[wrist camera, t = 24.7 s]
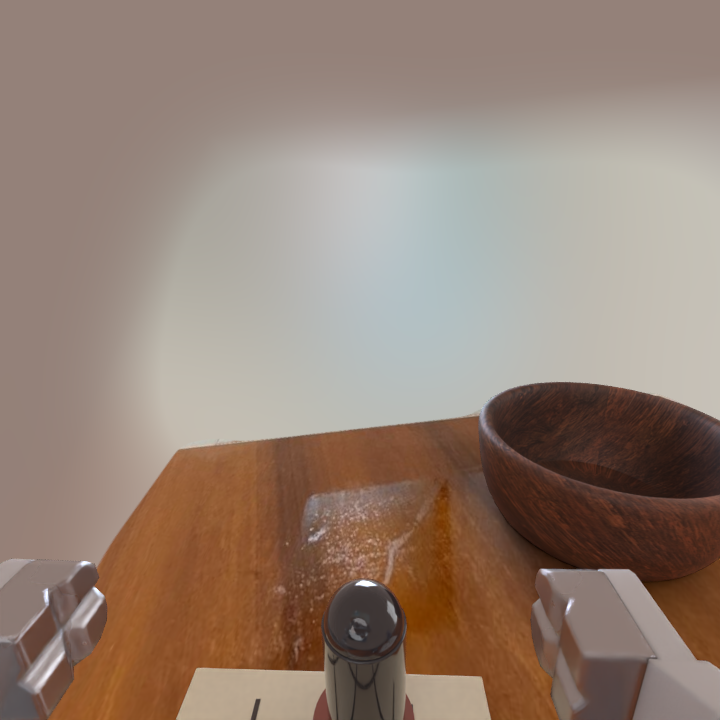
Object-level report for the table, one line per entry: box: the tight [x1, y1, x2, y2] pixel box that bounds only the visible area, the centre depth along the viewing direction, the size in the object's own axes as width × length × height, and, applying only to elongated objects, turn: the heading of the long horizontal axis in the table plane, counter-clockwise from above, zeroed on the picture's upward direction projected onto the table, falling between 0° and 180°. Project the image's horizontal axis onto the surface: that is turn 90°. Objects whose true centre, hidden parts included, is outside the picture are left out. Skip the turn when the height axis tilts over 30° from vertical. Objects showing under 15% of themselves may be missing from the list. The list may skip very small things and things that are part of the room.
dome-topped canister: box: [321, 578, 407, 720], centre depth 25 cm, size 5×5×10 cm
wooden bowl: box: [479, 382, 720, 581], centre depth 45 cm, size 25×25×10 cm
